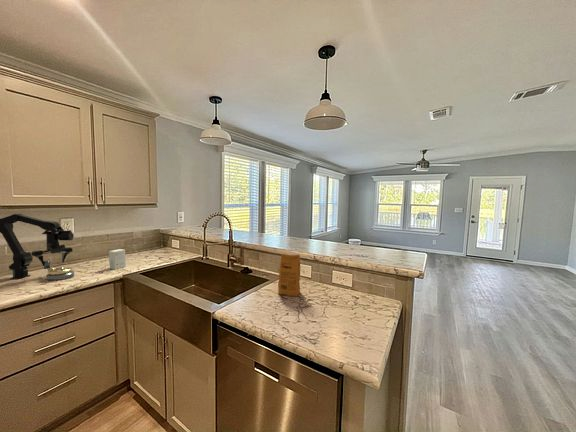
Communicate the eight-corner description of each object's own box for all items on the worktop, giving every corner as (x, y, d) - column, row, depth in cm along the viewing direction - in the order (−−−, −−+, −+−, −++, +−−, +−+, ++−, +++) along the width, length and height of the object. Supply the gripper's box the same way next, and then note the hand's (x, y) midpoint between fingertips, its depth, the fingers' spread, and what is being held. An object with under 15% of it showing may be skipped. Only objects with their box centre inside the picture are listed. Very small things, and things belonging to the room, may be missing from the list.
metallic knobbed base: (76, 271, 159) (75, 260, 158) (57, 276, 148) (56, 264, 147) (55, 269, 162) (54, 258, 162) (35, 273, 152) (34, 262, 151)
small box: (120, 265, 184) (119, 248, 183) (126, 266, 182) (125, 249, 181) (109, 268, 177) (108, 251, 176) (115, 269, 174) (114, 251, 174)
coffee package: (281, 288, 141) (282, 251, 140) (302, 291, 137) (302, 253, 136) (275, 294, 132) (275, 255, 130) (297, 297, 128) (297, 257, 126)
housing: (36, 281, 148) (36, 276, 148) (63, 272, 166) (63, 268, 166) (61, 281, 148) (60, 276, 148) (85, 272, 166) (85, 268, 166)
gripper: (36, 243, 146) (36, 269, 147) (75, 240, 162) (75, 263, 163) (30, 242, 152) (31, 266, 153) (69, 238, 168) (69, 261, 169)
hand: (53, 264), depth 159 cm, fingers open, 9 cm apart
